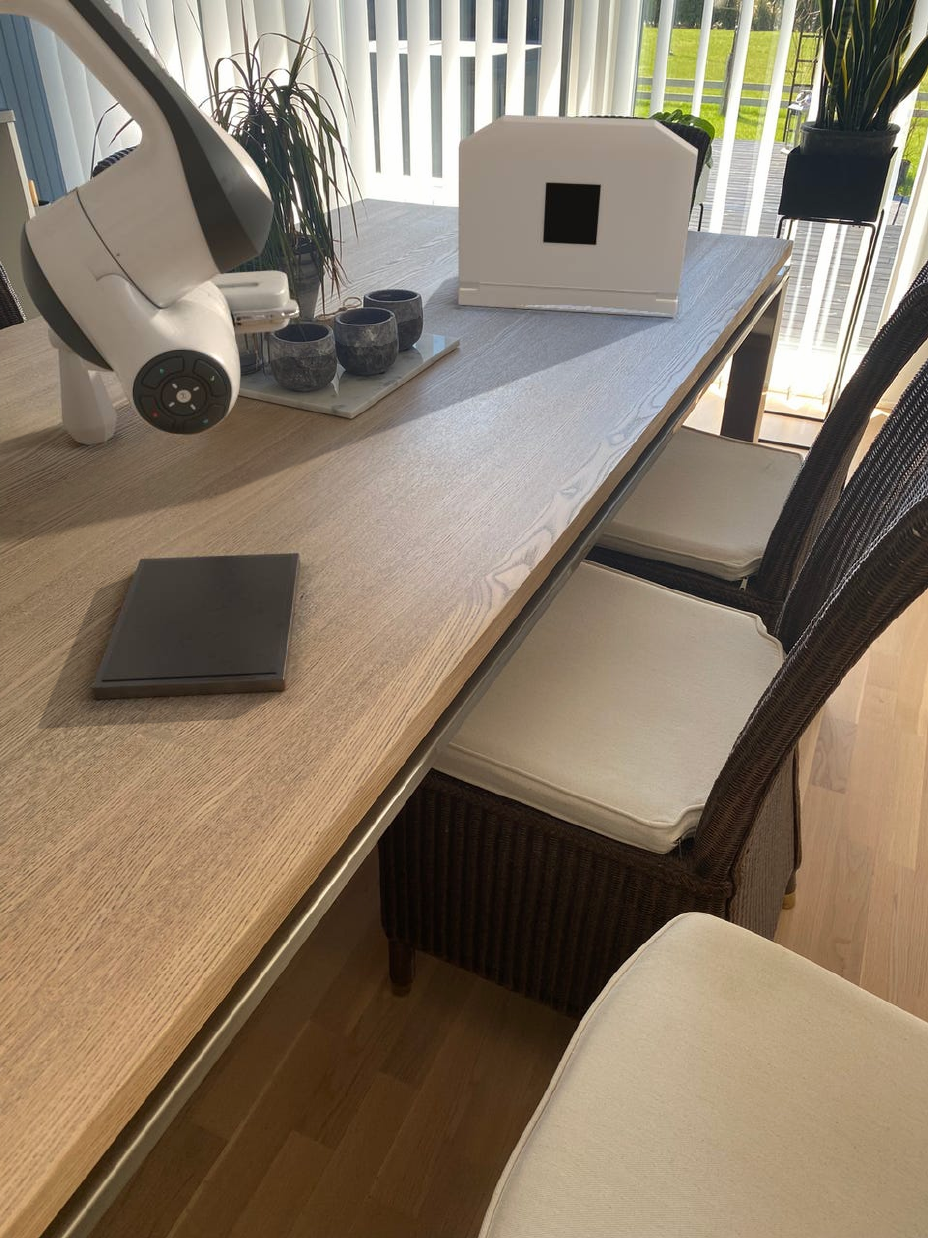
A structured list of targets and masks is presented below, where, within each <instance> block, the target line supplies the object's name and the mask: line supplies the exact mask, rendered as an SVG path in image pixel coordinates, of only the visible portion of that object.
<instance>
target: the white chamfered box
mask: <svg viewBox="0 0 928 1238" xmlns="http://www.w3.org/2000/svg"><path fill="white" fill-rule="evenodd" d="M698 155H699V149H698V148H696V147H695V146H694V145H692V144H691V143H690V142H689V141H688V142H687V141H686V140H685V139H684V138H682V137H680V136H679V135H678V134H676V133H675V132H673V131H672V130H671V129H669V128H668V127H666V126H665V125H663V124H662V123H661V122H660V121H658V120H657V119H651V118H650V119H648V118H646V119H645V118H619V117H618V118H615V117H584V116H583V117H582V116H552V115H551V116H549V115H545V116H544V115H520V114H517V115H515V114H504V115H502V116H500V117H498V118H497V119H495V120H493V121H491V122H490V123H489V124H486V125H485V126H483V127H482V128H480V129H479V130H477V131H475V132H473V133H471V134H470V135H469V136H466V137H465V138H464V139H462V140H460V141H459V145H458V282H459V288H458V305H459V306H468V307H469V306H471V307H487V308H504V309H506V308H507V309H522V310H539V311H554V312H570V313H589V314H590V313H591V314H606V315H623V316H637V317H639V316H640V317H656V318H657V317H658V318H676V316H677V311H678V294H680V290H681V284H682V283H681V282H682V275H683V268H684V259H685V252H686V244H687V237H688V229H689V222H690V216H691V207H692V200H693V192H694V187H695V186H694V184H695V178H696V171H697V162H698ZM517 305H518V306H517ZM521 305H523V306H521ZM526 305H573V306H591V307H603V308H615V309H628V310H638V311H648V312H660V313H669V314H676V315H661V314H644V313H627V312H610V311H593V310H576V309H559V308H542V307H525V306H526Z"/></svg>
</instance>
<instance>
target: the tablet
mask: <svg viewBox="0 0 928 1238" xmlns="http://www.w3.org/2000/svg"><path fill="white" fill-rule="evenodd" d="M300 557H301V556H300V553H299V552H289V553H288V552H287V553H264V554H262V553H261V554H260V553H259V554H236V555H235V554H234V555H210V556H207V555H206V556H181V557H179V556H177V557H154V558H153V557H152V558H140V559H139V562H138V564H137V566H136V570H135V572H134V574H133V577H132V580H131V582H130V585H129V587H128V590H127V593H126V595H125V598H124V601H123V604H122V606H121V609H120V611H119V614H118V617H117V619H116V622H115V625H114V627H113V630H112V632H111V634H110V638H109V641H108V643H107V646H106V649H105V650H104V654H103V657H102V659H101V661H100V664H99V667H98V669H97V672H96V675H95V677H94V680H93V683H92V685H91V691H92V693H93V694H92V695H93V697H94V699H95V700H111V699H133V698H135V699H137V698H154V697H155V698H156V697H157V698H158V697H177V696H178V697H179V696H197V695H219V694H222V695H223V694H239V693H240V694H241V693H263V692H284V691H287V690H286V689H287V681H288V674H289V673H288V672H289V664H290V656H291V646H292V639H293V629H294V623H295V621H294V620H295V612H296V603H297V595H298V586H299V578H300V570H301V558H300Z"/></svg>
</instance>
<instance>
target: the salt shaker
mask: <svg viewBox="0 0 928 1238" xmlns="http://www.w3.org/2000/svg"><path fill="white" fill-rule="evenodd" d="M47 334H48V339H49V342H50V345H51V347H52V348H54V349H56V350H58V351H57V352H58V366H59V380H60V381H59V382H60V383H59V384H60V404H61V405H60V406H61V421H62V426H63V427H64V429H65V430H66V431H67V432H68V434H69V435H70V436H71V438H73V440H74V441H75V442H76V443H80V444H82V445H87V446H91V445H96V444H102V443H106V442H107V441H109V440H110V439H111V438H113V437H114V435H115V431H116V426H117V421H118V415H117V412H116V410H115V407H114V405H113V402H112V400H111V397H110V395H109V393H108V391H107V388H106V385H105V383H104V380H103V378H102V376H101V373H100V371H90V370H86V369H84V368H83V366H82V364H81V361H80V359H79V356H78V355H77V354H76V353H75V352H74V351H73V350H72V349H71V348H70V347H68V346H67V345H66V344H65V343H64V342H63V341H62V340H61V339H60V337H59V336H58V335H57V334H56V333H55V332H54V331H53V329H52V328H51V327H50V326H49V328H48V329H47Z"/></svg>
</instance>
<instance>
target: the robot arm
mask: <svg viewBox="0 0 928 1238" xmlns="http://www.w3.org/2000/svg"><path fill="white" fill-rule="evenodd" d="M0 15H15V16H20V17H24V18H29V19H31V20H34V21H36V22H38V23H40V24H41V25H44V26H45V27H46V28H48V29H49V30H50V31H52V32H53V33H54V34H55V35H56V36H57V37H58V38H59V39H60V40H61V41H62V42H63V43H64V44H65V45H66V47H67V48H69V50H70V51H71V52H72V53H73V54H74V55H75V56H76V57H77V59H79V61H80V62H81V63H82V64H83V65H84V66H85V67H86V69H88V71H89V72H90V73H91V74H92V75H93V76H94V77H95V78H96V79H97V81H98V82H99V83H100V84H101V85H102V87H104V88H105V90H106V91H107V92H108V93H109V94H110V95H111V96H112V97H113V98H114V99H115V100H116V102H117V103H118V104H119V105H120V106H121V107H122V108H123V110H124V111H125V112H126V113H127V114H128V115H129V116H130V117H131V118H132V119H133V121H134V122H135V123H136V124H137V125H138V126H139V128H140V131H141V139H140V142H139V144H138V145H137V146H136V147H135V149H133V150H132V151H130V152H129V153H128V154H126V155H125V156H123V157H121V158H120V159H119V160H118V161H116V162H114V163H113V164H111V165H110V166H108V167H107V168H106V169H104V170H103V171H101V172H100V173H98V174H97V175H95V176H93V177H91V179H90V180H88V181H86V182H85V183H83V184H81V185H80V186H76V187H74V188H73V189H71V190H70V191H69V192H67V193H65V194H64V195H63V196H61V197H59V198H58V199H56V200H55V201H53V202H52V203H51V204H50V205H48V206H46V207H44V208H43V209H42V210H40V211H39V212H38V213H36V214H35V215H34V216H32V217H31V218H29V220H26V221H24V223H23V226H22V229H21V233H20V240H19V254H20V255H19V256H20V265H21V275H22V279H23V281H24V282H23V283H24V285H25V288H26V290H27V293H28V295H29V297H30V299H31V301H32V303H33V304H34V306H35V308H36V309H37V311H38V312H39V314H40V316H42V318H43V319H44V321H45V322H46V323H47V325H48V326H49V328H50V327H51V328H52V329H53V331H54V332H55V333H56V334H57V335H58V336H59V337H60V339H61V340H62V341H63V342H64V343H65V344H66V345H67V346H68V347H70V348H71V349H72V350H73V351H74V352H75V353H76V354H77V355H78V356H79V359H80V361H81V364H82V366H83V368H84V369H86V370H90V371H99V372H105V373H107V372H108V373H114V374H115V376H116V377H117V379H118V381H119V383H120V385H121V387H122V390H123V392H124V394H125V397H126V399H127V401H128V403H129V405H130V406H131V408H132V409H133V411H134V412H135V413H136V414H137V416H138V417H139V418H140V420H142V421H143V422H144V423H145V424H146V425H148V426H149V427H151V428H152V429H153V430H154V429H155V430H156V431H159V432H161V433H164V434H168V435H172V436H173V435H174V436H193V435H199V434H201V433H204V432H207V431H209V430H211V429H213V428H214V427H216V426H217V425H219V424H220V423H221V422H222V421H223V420H225V418H227V416H228V415H229V413H230V412H231V410H232V409H233V407H234V405H235V404H236V401H237V399H238V397H239V392H240V387H241V362H240V361H241V360H240V353H239V348H238V344H237V341H236V335H245V334H256V333H268V332H269V333H270V332H275V331H279V330H282V329H285V328H286V327H287V326H288V325H289V323H290V320H291V319H296V318H298V317H299V316H300V312H301V310H300V307H299V304H298V303H297V301H296V300H294V299H291V296H290V288H289V280H288V279H289V278H288V276H287V274H286V273H285V272H283V271H280V270H273V269H272V270H260V271H259V270H258V271H245V272H244V271H243V272H242V271H241V272H229V271H232V270H233V269H235V268H237V267H240V266H241V265H243V264H246V263H247V262H249V261H251V260H253V259H255V258H257V257H259V256H261V254H262V252H263V250H264V247H265V246H266V243H267V241H268V237H269V234H270V231H271V226H272V222H273V217H274V209H275V202H274V201H273V199H272V196H271V193H270V189H269V187H268V183H267V182H266V179H265V178H264V176H263V174H262V172H261V169H260V168H259V167H258V165H257V164H256V163H255V161H254V159H253V158H252V157H251V156H250V155H249V153H248V152H247V151H246V150H245V148H244V147H243V146H242V144H240V143H239V142H238V141H237V140H236V139H235V138H234V137H233V136H232V135H231V134H230V133H229V132H227V130H225V128H223V127H222V126H220V124H218V123H217V121H215V120H214V119H212V117H210V116H209V115H208V114H207V113H206V112H204V111H203V110H202V109H201V108H200V107H199V106H198V105H197V104H196V103H195V102H194V100H193V99H192V98H191V97H190V96H189V95H188V94H187V92H186V91H185V90H184V88H182V86H180V84H179V83H178V82H177V81H176V80H175V78H173V76H172V74H170V73H169V71H168V70H167V69H166V67H165V66H164V65H163V64H162V63H161V62H160V60H159V59H158V58H157V57H156V56H155V55H154V53H152V51H151V50H150V49H149V48H148V47H147V46H146V45H145V43H144V42H143V41H142V39H140V37H139V36H138V35H137V34H136V33H135V32H134V30H133V29H132V28H131V27H130V26H129V25H128V23H127V22H126V21H125V20H124V19H123V18H122V16H121V15H120V14H119V12H117V10H116V9H115V8H114V7H113V6H112V5H111V4H110V2H109V1H108V0H0Z"/></svg>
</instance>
